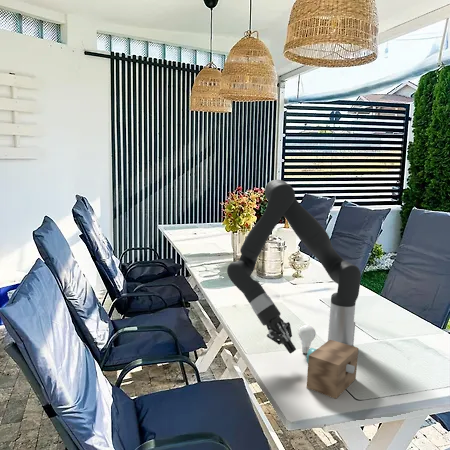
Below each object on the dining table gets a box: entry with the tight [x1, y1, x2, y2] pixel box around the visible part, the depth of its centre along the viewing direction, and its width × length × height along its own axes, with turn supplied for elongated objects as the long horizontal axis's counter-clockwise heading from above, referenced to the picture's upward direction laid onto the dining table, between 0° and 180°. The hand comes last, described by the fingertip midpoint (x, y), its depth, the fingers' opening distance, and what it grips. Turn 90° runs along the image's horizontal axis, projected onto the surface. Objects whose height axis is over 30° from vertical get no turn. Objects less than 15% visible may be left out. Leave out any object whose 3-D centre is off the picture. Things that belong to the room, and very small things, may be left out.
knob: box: [305, 347, 355, 374], centre depth 144 cm, size 15×5×5 cm, turn 53°
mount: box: [306, 340, 359, 400], centre depth 144 cm, size 12×16×11 cm
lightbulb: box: [297, 324, 317, 355], centre depth 165 cm, size 6×6×11 cm
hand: (293, 351), depth 152 cm, fingers closed
